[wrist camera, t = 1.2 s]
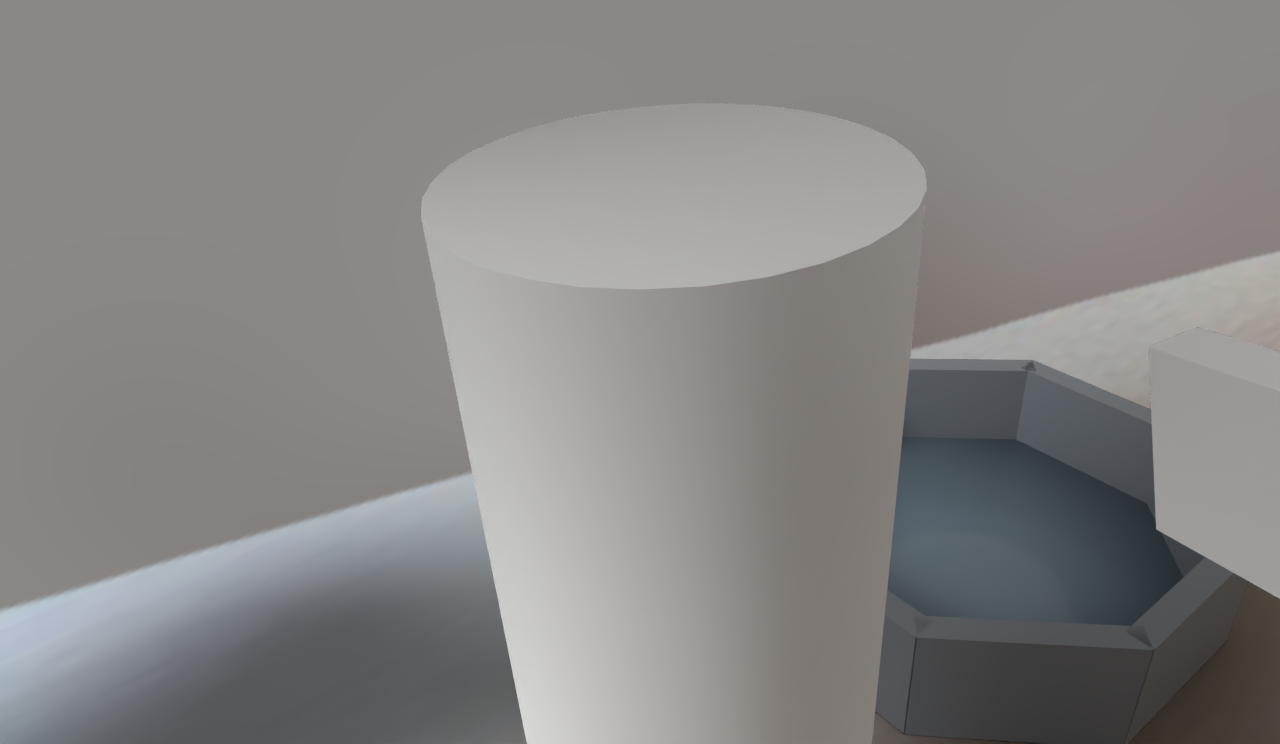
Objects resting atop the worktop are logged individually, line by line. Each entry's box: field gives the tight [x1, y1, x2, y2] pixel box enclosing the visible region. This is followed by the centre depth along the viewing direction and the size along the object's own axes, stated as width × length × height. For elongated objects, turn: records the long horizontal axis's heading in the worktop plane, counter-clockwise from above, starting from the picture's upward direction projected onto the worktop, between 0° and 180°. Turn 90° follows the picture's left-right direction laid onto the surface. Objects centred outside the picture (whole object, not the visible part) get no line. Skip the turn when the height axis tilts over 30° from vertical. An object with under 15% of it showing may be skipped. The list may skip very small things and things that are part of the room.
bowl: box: [875, 359, 1249, 744], centre depth 40 cm, size 18×18×5 cm
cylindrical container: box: [421, 103, 927, 744], centre depth 20 cm, size 7×7×25 cm
